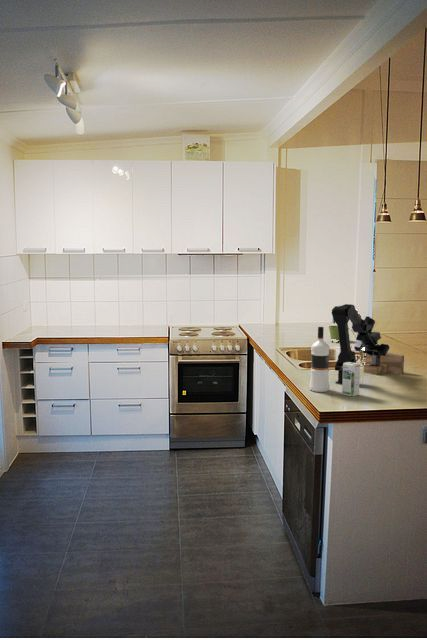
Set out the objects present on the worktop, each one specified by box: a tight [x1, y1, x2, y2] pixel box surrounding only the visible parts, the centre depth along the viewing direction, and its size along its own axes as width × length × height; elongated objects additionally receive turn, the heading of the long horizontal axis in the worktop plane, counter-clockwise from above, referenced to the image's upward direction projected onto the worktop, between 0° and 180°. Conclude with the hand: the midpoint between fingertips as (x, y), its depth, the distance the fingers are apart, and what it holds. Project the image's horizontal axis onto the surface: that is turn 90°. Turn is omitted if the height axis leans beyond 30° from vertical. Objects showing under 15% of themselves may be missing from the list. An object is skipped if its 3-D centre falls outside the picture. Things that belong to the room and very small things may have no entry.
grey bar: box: [372, 351, 380, 367], centre depth 289 cm, size 4×2×13 cm, turn 129°
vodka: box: [308, 326, 330, 393], centre depth 251 cm, size 9×9×30 cm
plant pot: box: [328, 325, 339, 340], centre depth 387 cm, size 12×12×11 cm
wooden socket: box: [362, 351, 405, 376], centre depth 291 cm, size 14×22×10 cm, turn 39°
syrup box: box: [341, 362, 361, 397], centre depth 244 cm, size 6×6×14 cm
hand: (377, 357), depth 290 cm, fingers closed on grey bar, 2 cm apart
